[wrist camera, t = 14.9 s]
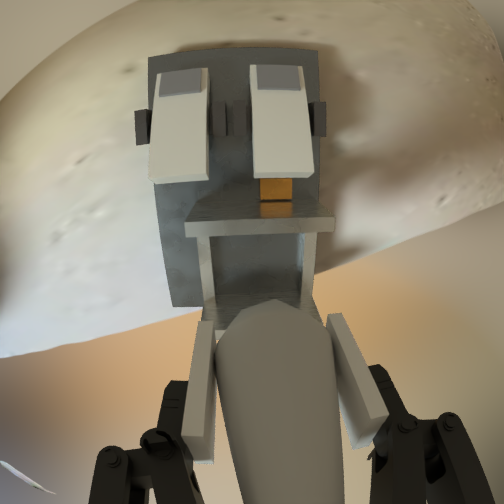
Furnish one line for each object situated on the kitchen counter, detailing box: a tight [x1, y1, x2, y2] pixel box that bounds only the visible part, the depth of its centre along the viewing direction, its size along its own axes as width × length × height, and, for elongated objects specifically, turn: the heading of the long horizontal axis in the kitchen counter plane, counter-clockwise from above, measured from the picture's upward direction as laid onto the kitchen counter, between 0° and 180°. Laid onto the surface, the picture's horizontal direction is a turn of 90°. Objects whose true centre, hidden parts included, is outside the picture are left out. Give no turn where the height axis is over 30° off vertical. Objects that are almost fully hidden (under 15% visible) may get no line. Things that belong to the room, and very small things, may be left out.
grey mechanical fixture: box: [135, 47, 335, 340], centre depth 20 cm, size 13×22×8 cm, turn 1°
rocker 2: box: [249, 65, 314, 178], centre depth 17 cm, size 4×8×2 cm, turn 1°
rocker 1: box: [148, 68, 210, 184], centre depth 17 cm, size 4×8×2 cm, turn 1°
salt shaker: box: [215, 299, 345, 504], centre depth 9 cm, size 6×6×13 cm
